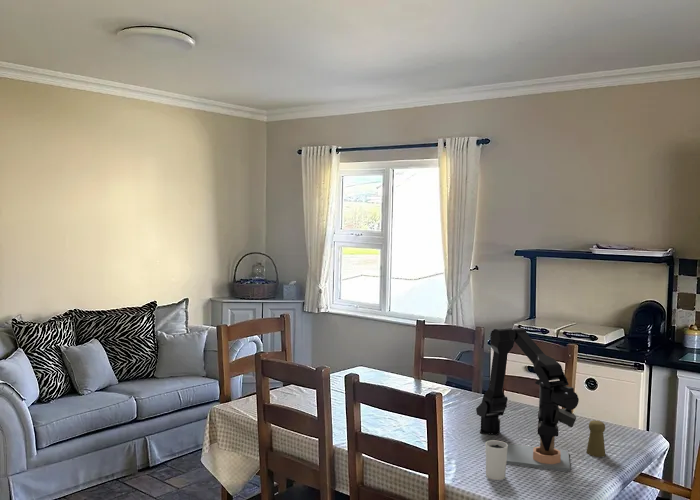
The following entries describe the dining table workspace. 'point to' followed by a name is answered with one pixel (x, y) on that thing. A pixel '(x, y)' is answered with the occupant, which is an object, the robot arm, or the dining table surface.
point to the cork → (596, 439)
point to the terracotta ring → (546, 456)
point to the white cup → (496, 459)
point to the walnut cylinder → (551, 449)
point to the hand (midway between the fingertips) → (546, 448)
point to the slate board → (525, 458)
